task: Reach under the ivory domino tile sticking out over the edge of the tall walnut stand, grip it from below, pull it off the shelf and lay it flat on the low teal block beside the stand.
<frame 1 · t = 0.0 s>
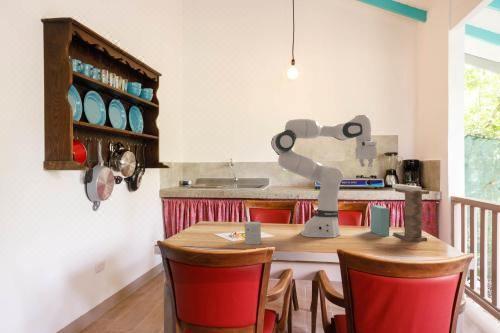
hand: (366, 166, 189), 39 cm above the table, tool pointing down, fingers open, 8 cm apart
walnut stand: (408, 237, 179), on the table
teal block: (379, 233, 189), on the table
small box: (252, 243, 167), on the table
domino tile: (405, 189, 182), point 26 cm above the table, touching walnut stand
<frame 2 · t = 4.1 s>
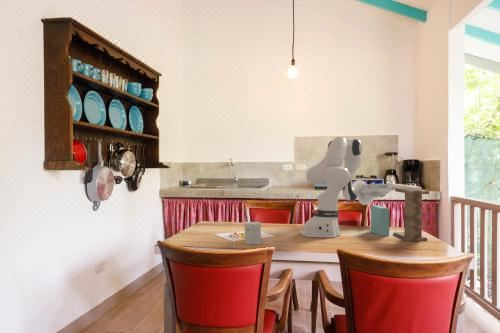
hand: (381, 183, 210), 28 cm above the table, tool pointing upward, fingers open, 8 cm apart
nothing on the table moved.
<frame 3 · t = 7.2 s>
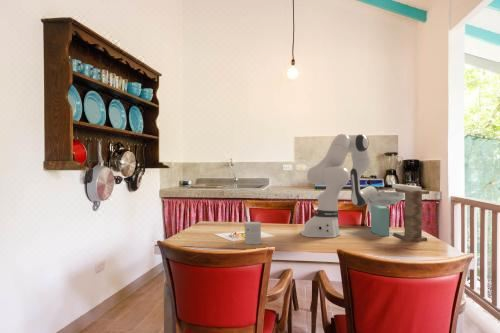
hand: (392, 191, 196), 24 cm above the table, tool pointing upward, fingers open, 8 cm apart
nothing on the table moved.
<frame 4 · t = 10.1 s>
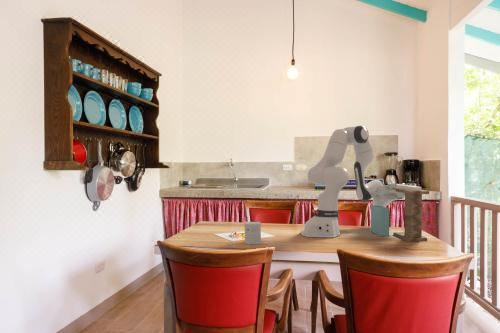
hand: (399, 184, 188), 29 cm above the table, tool pointing upward, fingers closed on domino tile, 4 cm apart
domino tile: (405, 189, 182), point 26 cm above the table, touching gripper, walnut stand
everything else where it was.
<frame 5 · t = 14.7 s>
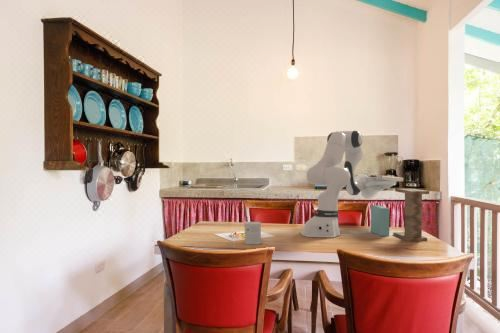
hand: (384, 175, 205), 33 cm above the table, tool pointing upward, fingers closed on domino tile, 4 cm apart
domino tile: (390, 180, 199), point 31 cm above the table, touching gripper
everything else where it was.
when the fingers open (18 cm above the table, at t = 19.4 s): domino tile stays where it is, resting on teal block.
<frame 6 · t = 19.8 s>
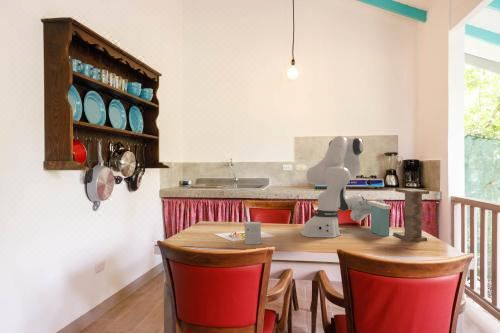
hand: (373, 200, 197), 18 cm above the table, tool pointing upward, fingers open, 8 cm apart
domino tile: (378, 206, 191), point 15 cm above the table, touching teal block
everything else where it was.
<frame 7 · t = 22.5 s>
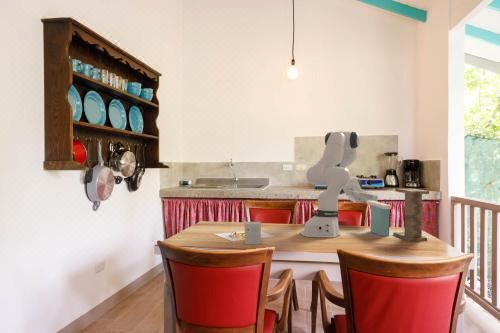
hand: (364, 195, 207), 20 cm above the table, tool horizontal, fingers open, 8 cm apart
nothing on the table moved.
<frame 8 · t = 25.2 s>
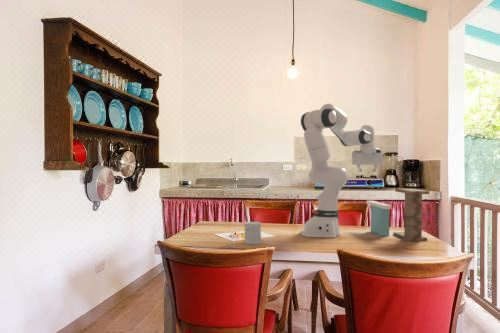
hand: (367, 171, 212), 35 cm above the table, tool pointing down, fingers open, 8 cm apart
nothing on the table moved.
at the end: domino tile inside the target area on the teal block (0.9 cm from its centre), point 15.5 cm above the teal block's base; domino tile touching teal block; the gripper is holding nothing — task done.
